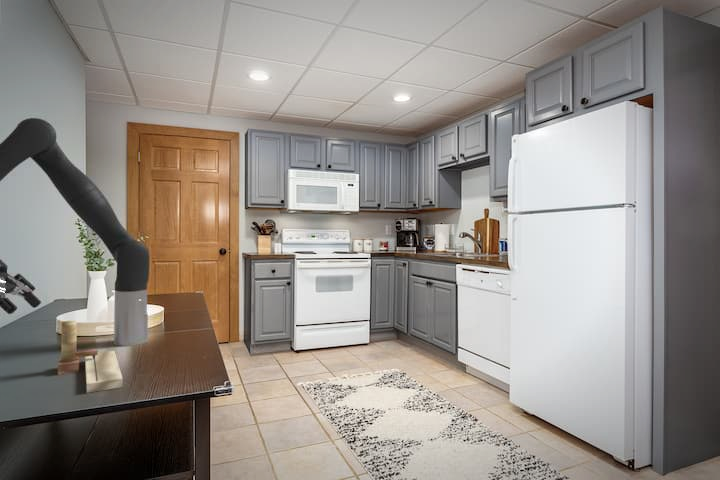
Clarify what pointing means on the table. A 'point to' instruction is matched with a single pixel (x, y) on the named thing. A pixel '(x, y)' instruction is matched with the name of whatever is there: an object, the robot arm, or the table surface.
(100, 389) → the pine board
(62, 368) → the marking gauge
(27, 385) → the table surface
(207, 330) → the table surface
